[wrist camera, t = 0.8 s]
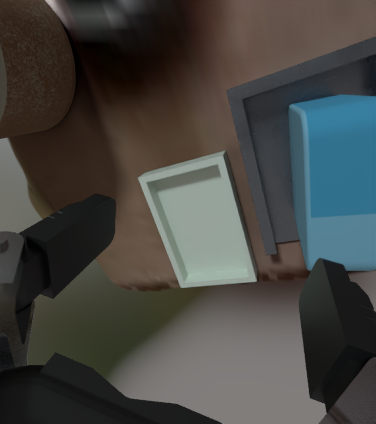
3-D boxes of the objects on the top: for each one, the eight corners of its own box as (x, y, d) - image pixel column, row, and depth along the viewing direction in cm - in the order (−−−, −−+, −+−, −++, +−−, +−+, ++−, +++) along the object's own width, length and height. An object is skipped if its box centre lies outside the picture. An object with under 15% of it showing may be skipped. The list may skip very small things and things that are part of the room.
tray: (226, 150, 30) (222, 155, 28) (257, 270, 35) (256, 281, 33) (146, 172, 33) (138, 177, 31) (185, 277, 39) (181, 287, 37)
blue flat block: (337, 210, 29) (379, 280, 18) (293, 213, 30) (308, 280, 20) (338, 93, 24) (395, 96, 14) (287, 104, 26) (302, 113, 15)
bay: (383, 35, 22) (399, 28, 20) (392, 225, 28) (405, 238, 26) (230, 90, 27) (226, 90, 24) (266, 242, 33) (266, 255, 30)
